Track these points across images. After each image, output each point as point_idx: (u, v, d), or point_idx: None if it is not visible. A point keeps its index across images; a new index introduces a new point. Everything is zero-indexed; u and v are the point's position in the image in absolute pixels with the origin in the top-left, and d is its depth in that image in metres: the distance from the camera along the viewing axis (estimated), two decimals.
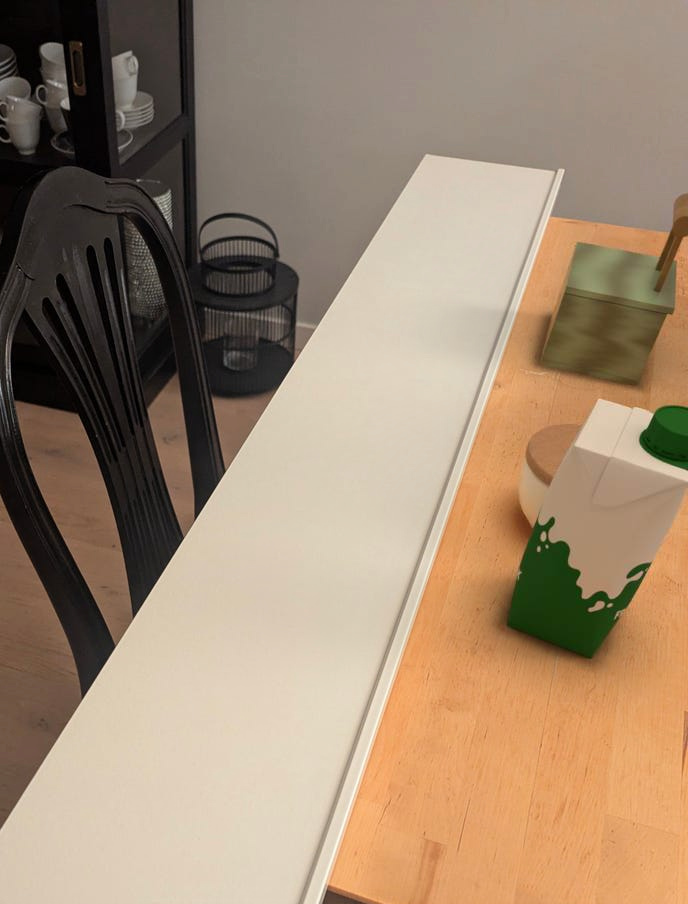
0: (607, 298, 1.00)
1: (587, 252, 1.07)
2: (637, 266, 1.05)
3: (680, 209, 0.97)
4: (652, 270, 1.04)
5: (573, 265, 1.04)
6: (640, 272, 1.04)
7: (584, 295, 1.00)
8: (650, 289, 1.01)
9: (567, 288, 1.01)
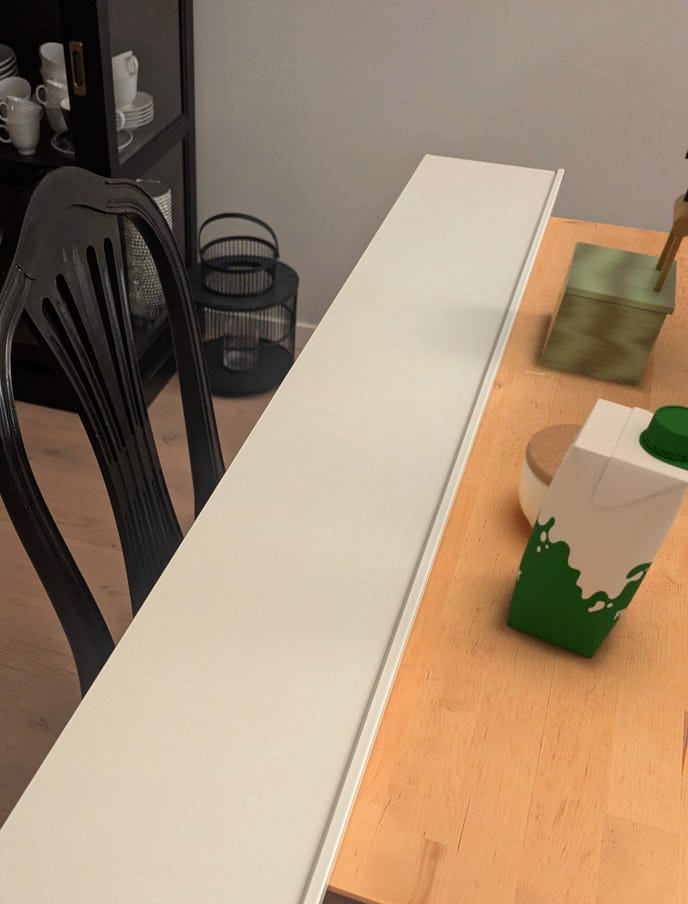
0: (607, 298, 1.00)
1: (587, 252, 1.07)
2: (637, 266, 1.05)
3: (680, 209, 0.97)
4: (652, 270, 1.04)
5: (573, 265, 1.04)
6: (640, 272, 1.04)
7: (584, 295, 1.00)
8: (650, 289, 1.01)
9: (567, 288, 1.01)
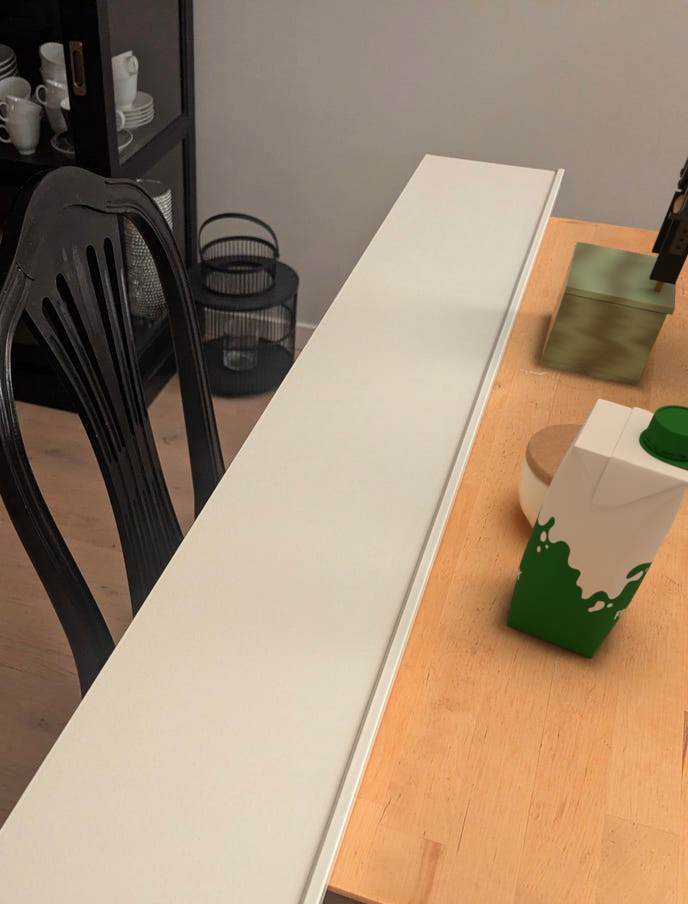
0: (607, 298, 1.00)
1: (587, 252, 1.07)
2: (637, 266, 1.05)
3: None
4: None
5: (573, 265, 1.04)
6: (640, 272, 1.04)
7: (584, 295, 1.00)
8: (650, 289, 1.01)
9: (567, 288, 1.01)
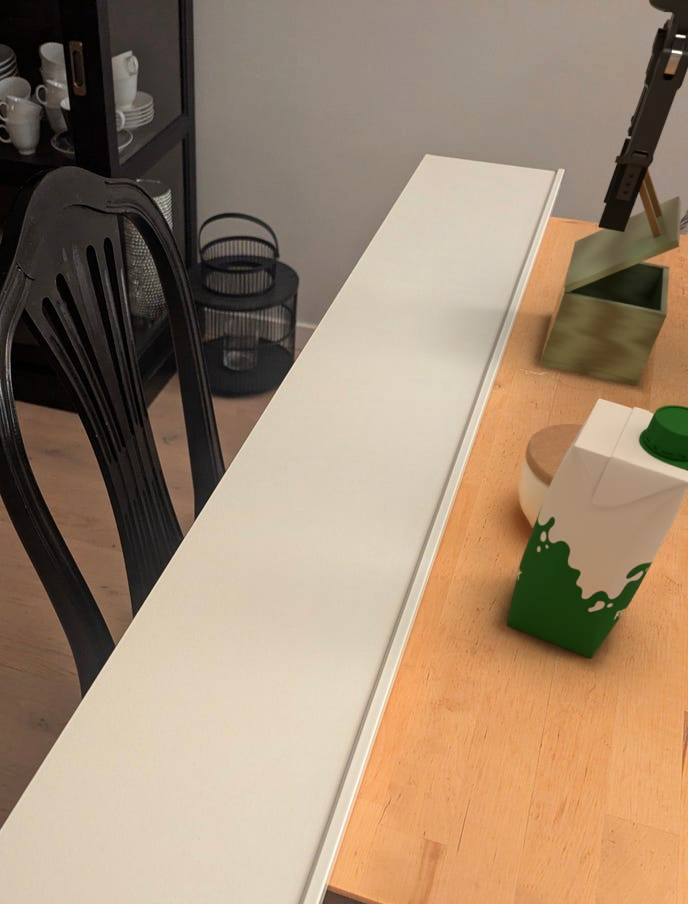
0: (608, 272, 0.98)
1: (584, 245, 1.07)
2: (637, 225, 1.02)
3: None
4: None
5: (570, 264, 1.04)
6: (639, 229, 1.01)
7: (585, 283, 1.00)
8: (650, 238, 0.98)
9: (566, 287, 1.01)
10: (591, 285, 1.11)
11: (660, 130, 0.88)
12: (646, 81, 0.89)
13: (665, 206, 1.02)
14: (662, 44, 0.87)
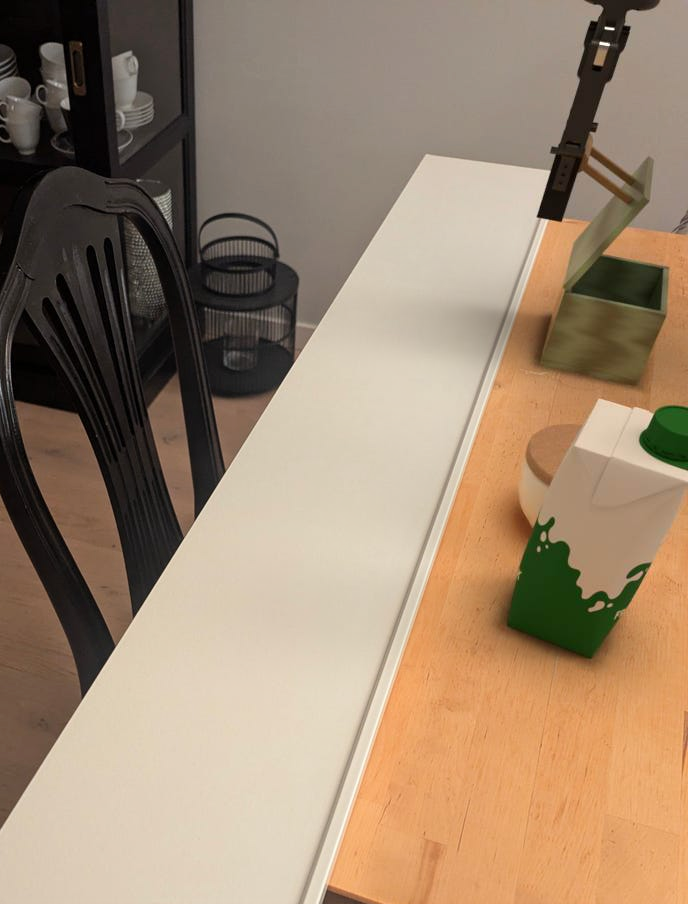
0: (596, 255, 0.97)
1: (579, 241, 1.07)
2: (617, 201, 1.02)
3: None
4: (628, 190, 1.00)
5: (568, 265, 1.04)
6: (618, 203, 1.00)
7: (580, 274, 0.99)
8: (625, 207, 0.97)
9: (565, 287, 1.01)
10: (591, 285, 1.11)
11: (591, 121, 0.89)
12: (578, 73, 0.90)
13: (638, 171, 1.01)
14: (593, 36, 0.89)
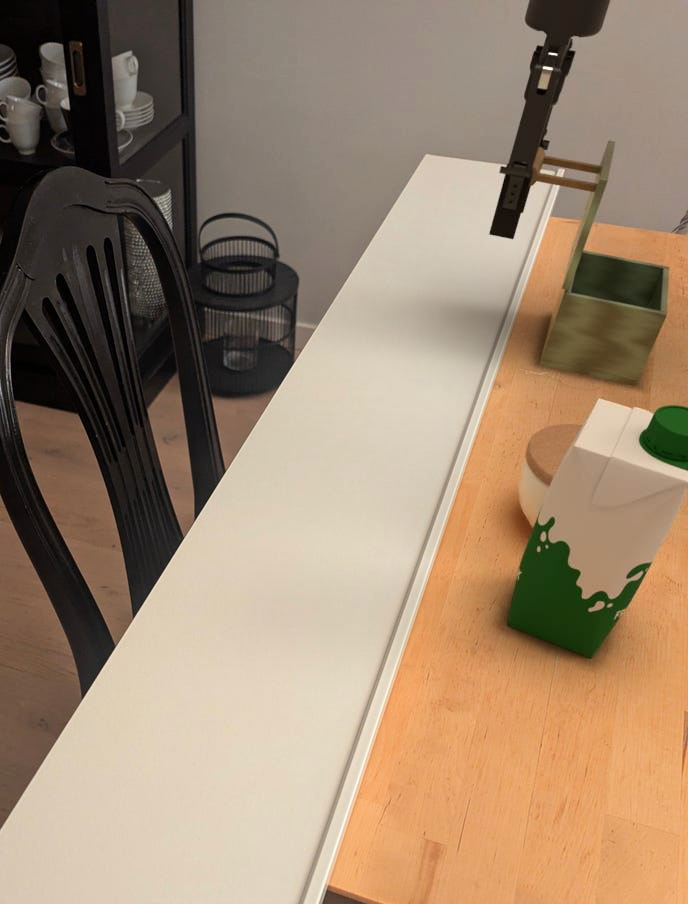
0: (580, 248, 0.97)
1: (574, 241, 1.07)
2: (591, 192, 1.02)
3: None
4: (596, 178, 1.00)
5: (567, 266, 1.05)
6: (591, 193, 1.01)
7: (573, 270, 0.99)
8: (592, 194, 0.97)
9: (564, 287, 1.01)
10: (591, 285, 1.11)
11: (537, 142, 0.92)
12: (525, 96, 0.93)
13: (602, 157, 1.01)
14: (538, 61, 0.92)
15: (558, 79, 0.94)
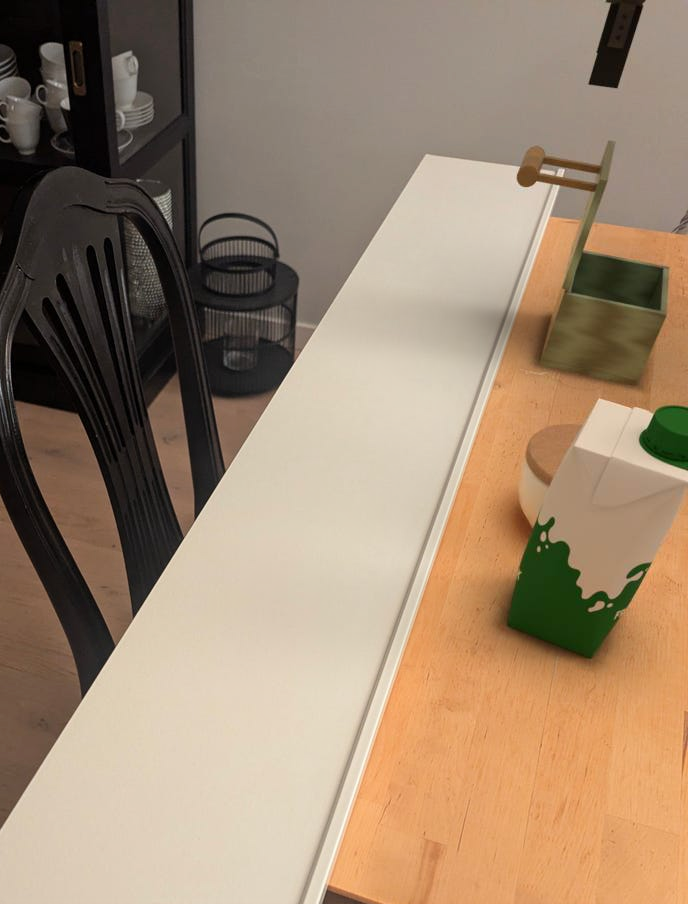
0: (580, 248, 0.97)
1: (574, 241, 1.07)
2: (591, 192, 1.02)
3: None
4: (596, 178, 1.00)
5: (567, 266, 1.05)
6: (591, 193, 1.01)
7: (573, 270, 0.99)
8: (592, 194, 0.97)
9: (564, 287, 1.01)
10: (591, 285, 1.11)
11: None
12: None
13: (602, 157, 1.01)
14: None
15: None
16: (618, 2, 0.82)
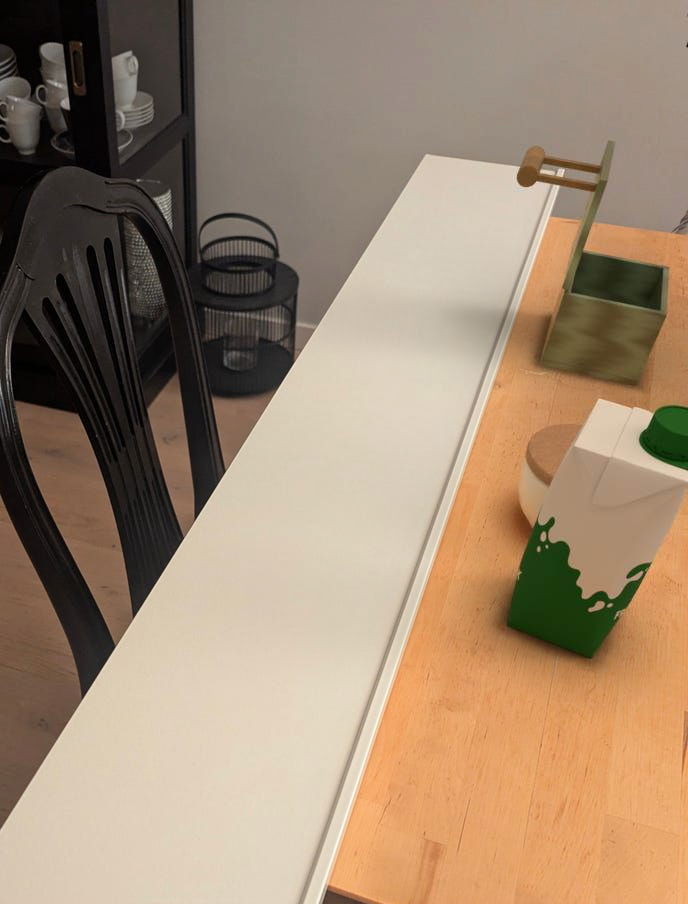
0: (580, 248, 0.97)
1: (574, 241, 1.07)
2: (591, 192, 1.02)
3: None
4: (596, 178, 1.00)
5: (567, 266, 1.05)
6: (591, 193, 1.01)
7: (573, 270, 0.99)
8: (592, 194, 0.97)
9: (564, 287, 1.01)
10: (591, 285, 1.11)
11: None
12: None
13: (602, 157, 1.01)
14: None
15: None
16: None
